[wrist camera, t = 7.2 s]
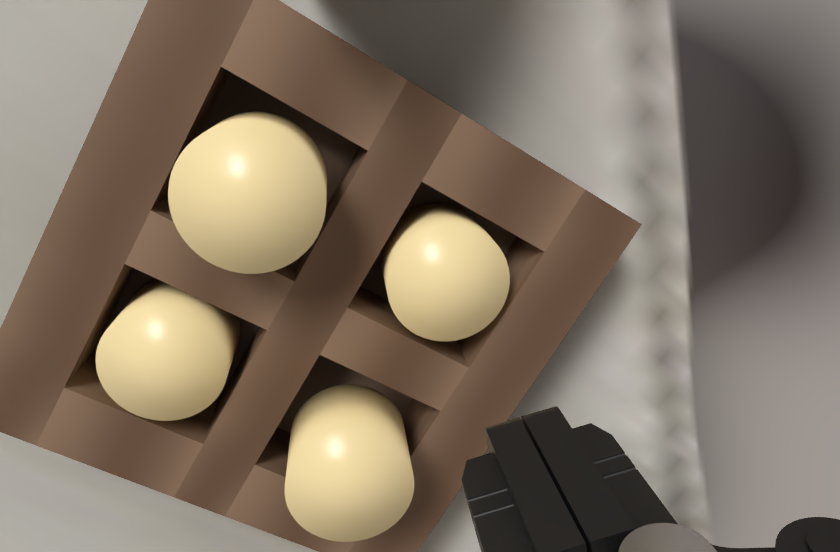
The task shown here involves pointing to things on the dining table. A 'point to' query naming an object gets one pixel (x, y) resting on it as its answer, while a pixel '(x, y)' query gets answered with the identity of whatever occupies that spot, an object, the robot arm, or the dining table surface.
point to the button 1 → (167, 353)
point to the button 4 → (443, 273)
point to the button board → (291, 269)
